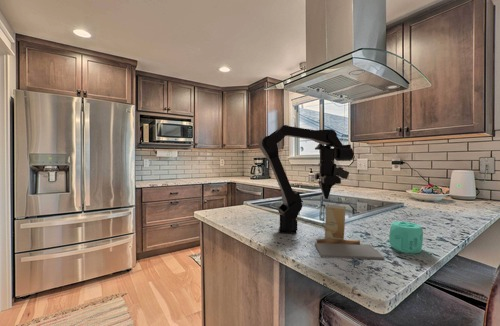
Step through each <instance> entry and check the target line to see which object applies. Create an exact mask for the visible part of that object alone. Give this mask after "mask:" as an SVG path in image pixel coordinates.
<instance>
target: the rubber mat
mask: <svg viewBox="0 0 500 326" xmlns="http://www.w3.org/2000/svg"><path fill="white" fill-rule="evenodd" d="M314 246H315V248H316V249H317V252H318V253H319V255H320V257H321V258H334V259H335V258H337V259H339V258H340V259H360V260H361V259H363V260H366V259H367V260H385V257H384V256H383V255H382V253H380V252H379V251H378V250H377V249H375V248H374V246H372V245H371V244H366V243H365V244H364V243H363V244H361V243H360V244H334V243H317V242H314Z"/></svg>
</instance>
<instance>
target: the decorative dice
mask: <svg viewBox="0 0 500 326" xmlns="http://www.w3.org/2000/svg"><path fill="white" fill-rule="evenodd" d="M389 228H390V229H389V236H388V237H389V239H388V240H389V245H390V246H391V248H392V249H394V250H396V251H398V252H400V253H406V254H412V255H415V254H421V253H422V249H423V242H424V230H423V227H422V226H421V225H419V224H418V223H414V222H411V221H410V222H409V221H393V222H392V223H391V224H390V227H389Z"/></svg>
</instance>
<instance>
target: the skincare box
mask: <svg viewBox="0 0 500 326" xmlns="http://www.w3.org/2000/svg"><path fill="white" fill-rule="evenodd" d="M345 222H346V206H345V205H344V206H343V205H335V204H327V205H326V206H325V222H324V239H342V240H345V225H346V223H345Z"/></svg>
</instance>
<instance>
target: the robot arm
mask: <svg viewBox="0 0 500 326" xmlns="http://www.w3.org/2000/svg"><path fill="white" fill-rule="evenodd" d="M285 137H291V138H296V139H297V138H298V139H303V140H311V141H314V142H315V143H318V144H317V145H316V147H315V148H314V150H316V151H318V150H319V163H318V166H319V172H316V173H315V174H314V180H318V181H317V183H318V185H319V188H320V190H321V193H322V195H323V198H324V199H325V200H328V199H329V197H330V194H331V190H332V187H334V186H335V185H340V184H342V179H345V180H347V179H348V177H349V175H350V171H348V170H345V169H344V168H343V167H341V166H338V167H337V163H335V160H336V161H337V162H339V161H340V162H351V161H353V159H354V157H355V156H354V155H355V153H354V150H353V148H352V145H351V144H343V143H342V142H341V141H340V138H339V137H338V134H337V133H336V130H334V129H330V128H329V129H309V128H302V127H296V126H290V125H287V124H283V125H280V126H279V127H278V128H277V129H276V130H274V131H273V132H272V133H270V134H269V135H266V136H262V137H261V138H260V140H259V141H258V147H259V149H260V151H261V152H262V153H263V155H264V157H265V158H266V159H267V161H268V162H269V165H270V167H271V170H272V172H273V174H274V177H275V180H276V182H277V184H278V186H279V189H280V192H281V200H282V204H280V206H279V207H278V208H277V211H278V214H279V227H278V230H279V233H280V234H297V231H298V215H299V213H300V211H302V208H303V202H304V201H303V200H302V198H301V195H300V192H299V191H295V190H293V188H292V185H291V183H290V180H289V178H288V175H287V173H286V171H285V169H284V166H283V164H282V162H281V159H280V156H279V147H278V143H280V142H281V141H282V140H283V139H284V138H285Z"/></svg>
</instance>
